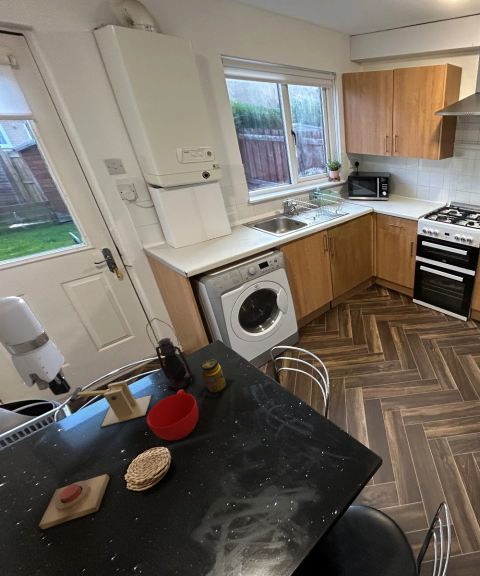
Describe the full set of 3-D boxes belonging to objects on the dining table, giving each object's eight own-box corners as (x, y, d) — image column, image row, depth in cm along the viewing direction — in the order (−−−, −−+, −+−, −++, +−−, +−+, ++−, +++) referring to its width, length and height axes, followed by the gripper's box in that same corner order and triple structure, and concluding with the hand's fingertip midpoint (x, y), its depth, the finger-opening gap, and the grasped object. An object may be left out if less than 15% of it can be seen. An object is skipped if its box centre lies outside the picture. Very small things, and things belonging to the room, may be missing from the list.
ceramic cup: (209, 401, 110) (201, 380, 106) (200, 442, 96) (191, 421, 92) (167, 410, 107) (157, 389, 102) (152, 454, 93) (140, 433, 88)
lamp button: (60, 505, 78) (56, 501, 77) (66, 490, 80) (63, 487, 80) (78, 499, 79) (74, 495, 78) (83, 485, 82) (80, 481, 81)
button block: (43, 530, 76) (34, 522, 74) (60, 494, 83) (52, 485, 81) (98, 511, 80) (91, 503, 78) (110, 478, 87) (104, 469, 85)
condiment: (231, 382, 118) (223, 358, 112) (217, 399, 111) (208, 375, 105) (214, 379, 119) (206, 355, 113) (199, 396, 112) (189, 372, 106)
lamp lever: (69, 403, 95) (68, 397, 94) (76, 392, 99) (75, 386, 98) (120, 399, 100) (119, 393, 99) (124, 388, 104) (124, 383, 103)
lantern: (172, 395, 113) (141, 328, 98) (167, 382, 118) (138, 317, 103) (196, 384, 117) (170, 319, 103) (191, 372, 123) (165, 309, 108)
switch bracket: (102, 428, 100) (85, 403, 95) (111, 407, 108) (96, 383, 102) (146, 416, 104) (132, 392, 99) (152, 397, 112) (139, 373, 106)
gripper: (23, 329, 85) (58, 378, 94) (-10, 364, 73) (33, 416, 82) (58, 323, 88) (89, 371, 97) (31, 356, 76) (69, 407, 85)
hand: (63, 391), depth 89 cm, fingers closed
